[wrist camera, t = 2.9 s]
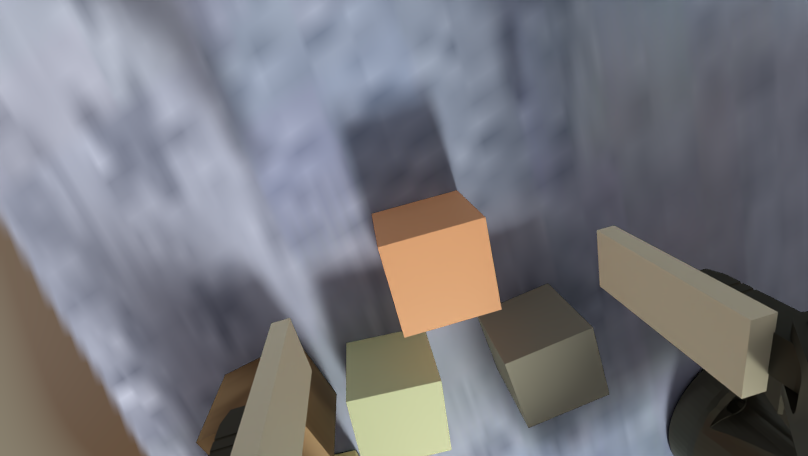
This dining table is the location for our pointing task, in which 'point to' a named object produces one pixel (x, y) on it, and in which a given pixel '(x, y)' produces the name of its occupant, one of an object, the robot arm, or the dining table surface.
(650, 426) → the dining table surface
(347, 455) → the milk carton
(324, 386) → the walnut block
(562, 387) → the grey beige cube
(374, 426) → the sage block
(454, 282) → the terracotta block
